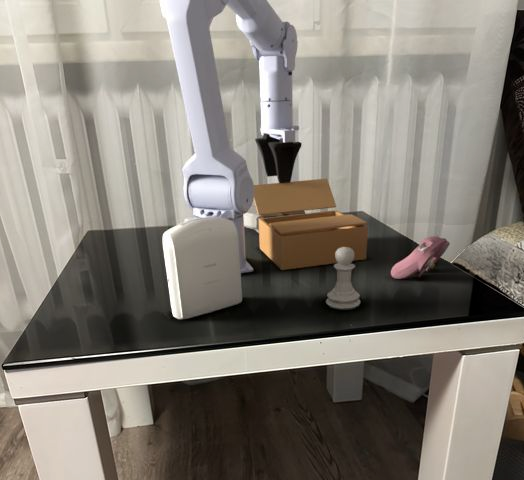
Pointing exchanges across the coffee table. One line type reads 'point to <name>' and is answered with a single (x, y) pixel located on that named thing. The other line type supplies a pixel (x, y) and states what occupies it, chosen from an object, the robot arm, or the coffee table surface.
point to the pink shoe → (421, 258)
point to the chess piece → (343, 282)
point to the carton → (311, 238)
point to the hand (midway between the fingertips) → (278, 179)
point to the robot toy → (253, 218)
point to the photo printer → (202, 266)
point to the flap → (293, 196)
